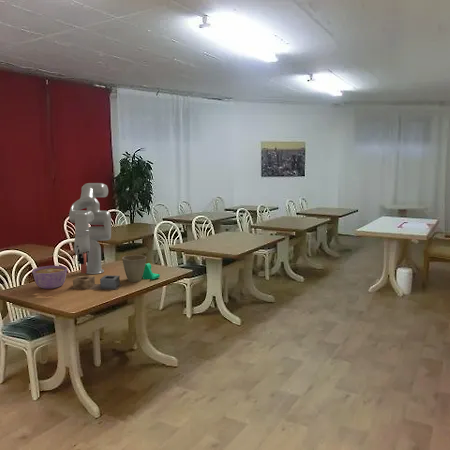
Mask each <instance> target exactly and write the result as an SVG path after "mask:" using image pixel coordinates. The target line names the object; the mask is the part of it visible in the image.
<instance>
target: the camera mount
mask: <svg viewBox="0 0 450 450" xmlns="http://www.w3.org/2000/svg"><path fill="white" fill-rule="evenodd" d="M160 277H161V274H158V273H154V272H153V271H152V265H151V263H150V262H148V263H145V269H144V273H143V276H142V279H143V280H156V279H158V278H160Z"/></svg>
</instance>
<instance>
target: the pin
mask: <svg viewBox="0 0 450 450" xmlns="http://www.w3.org/2000/svg"><path fill="white" fill-rule="evenodd" d="M80 254H81V253H80ZM83 258H84V264H80V274H86V273H87V263H86V253H83Z"/></svg>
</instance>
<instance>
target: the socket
mask: <svg viewBox="0 0 450 450" xmlns="http://www.w3.org/2000/svg"><path fill="white" fill-rule="evenodd" d="M99 284H100V289H116V288H117V287H118V286H119V285H121V284H120V275H109V274H107V275H103V276H102V277H101V278H100V279H99Z"/></svg>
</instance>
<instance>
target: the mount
mask: <svg viewBox="0 0 450 450" xmlns="http://www.w3.org/2000/svg"><path fill="white" fill-rule="evenodd" d="M95 284H96V282H95V276H83V275H82V276H80V275H79V276H77V277H75V278H74V279H73V280H72V288H82V289H81V290H89V289H90V288H91V287H92V286H94V285H95Z"/></svg>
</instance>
